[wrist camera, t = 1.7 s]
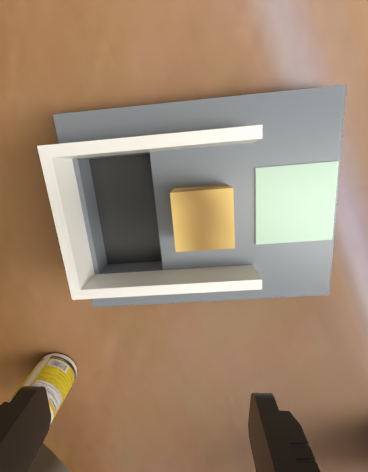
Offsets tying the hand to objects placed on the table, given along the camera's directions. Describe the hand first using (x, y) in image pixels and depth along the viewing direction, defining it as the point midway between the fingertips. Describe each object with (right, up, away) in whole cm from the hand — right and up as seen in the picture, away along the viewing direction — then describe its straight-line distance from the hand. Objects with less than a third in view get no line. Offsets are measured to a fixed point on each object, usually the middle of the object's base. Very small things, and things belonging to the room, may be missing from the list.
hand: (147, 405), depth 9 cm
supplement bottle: (-16, -12, +25) cm, 32 cm away
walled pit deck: (+3, +10, +18) cm, 20 cm away
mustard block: (+3, +9, +15) cm, 18 cm away
